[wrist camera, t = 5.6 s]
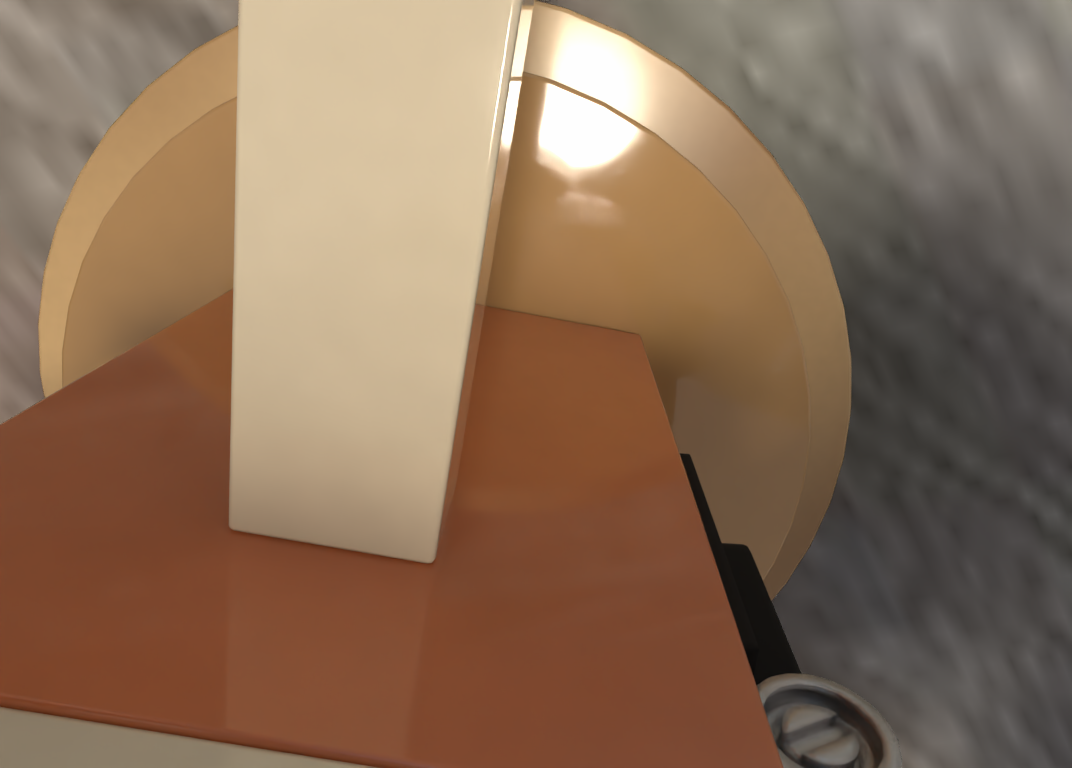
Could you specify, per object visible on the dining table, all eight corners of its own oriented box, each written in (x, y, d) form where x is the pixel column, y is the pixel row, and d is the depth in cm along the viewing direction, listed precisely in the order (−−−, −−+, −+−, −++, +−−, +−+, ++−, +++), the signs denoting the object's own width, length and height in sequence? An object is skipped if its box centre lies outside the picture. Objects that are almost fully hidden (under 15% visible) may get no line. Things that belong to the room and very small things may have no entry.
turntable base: (993, 301, 13) (1040, 323, 12) (561, 773, 18) (561, 824, 17) (266, -217, 11) (225, -260, 9) (-5, 499, 16) (-56, 536, 14)
